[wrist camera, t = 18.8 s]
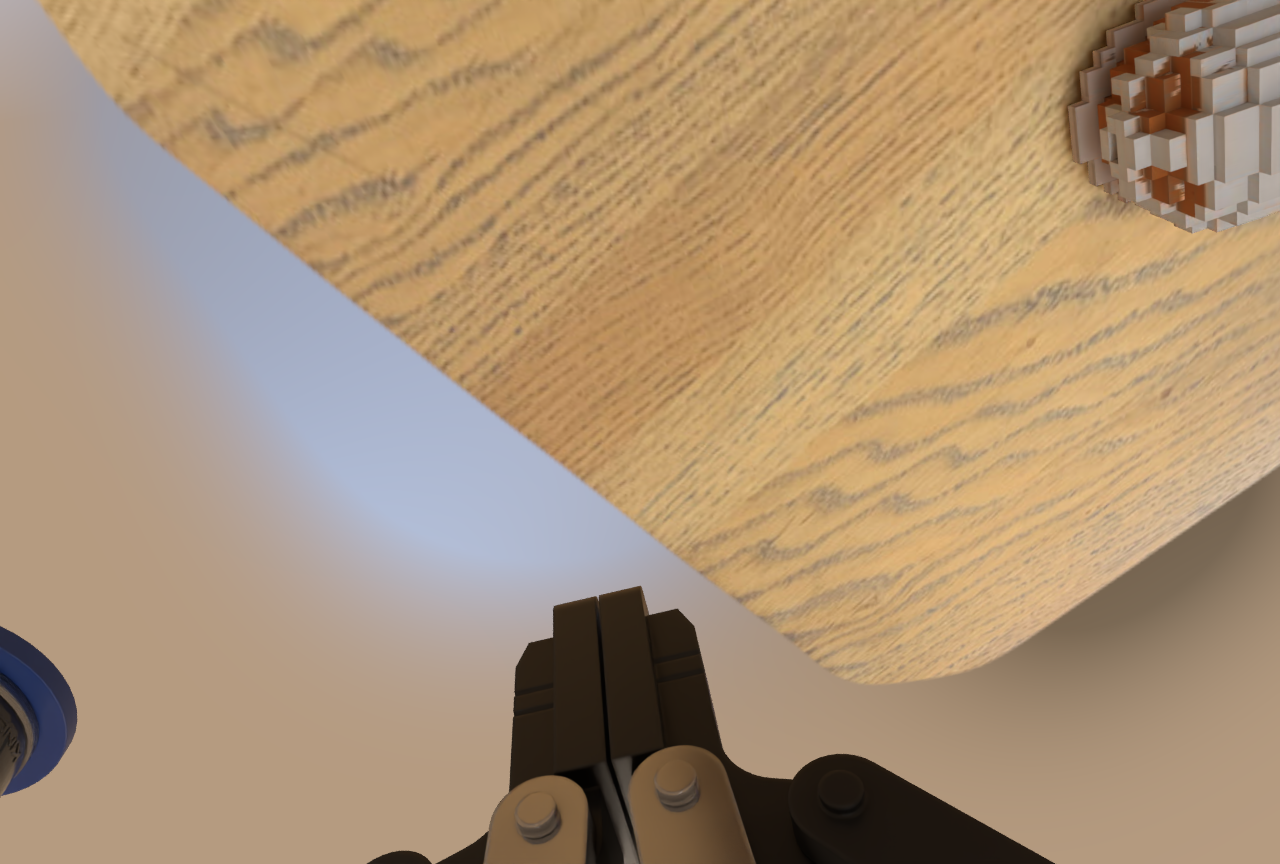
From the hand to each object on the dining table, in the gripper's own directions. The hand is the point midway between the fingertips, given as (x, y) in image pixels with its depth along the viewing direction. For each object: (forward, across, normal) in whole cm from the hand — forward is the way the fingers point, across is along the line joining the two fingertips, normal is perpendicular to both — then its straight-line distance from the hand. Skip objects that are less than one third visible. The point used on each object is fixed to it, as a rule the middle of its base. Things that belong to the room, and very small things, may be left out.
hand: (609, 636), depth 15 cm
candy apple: (+24, -24, -1) cm, 34 cm away
